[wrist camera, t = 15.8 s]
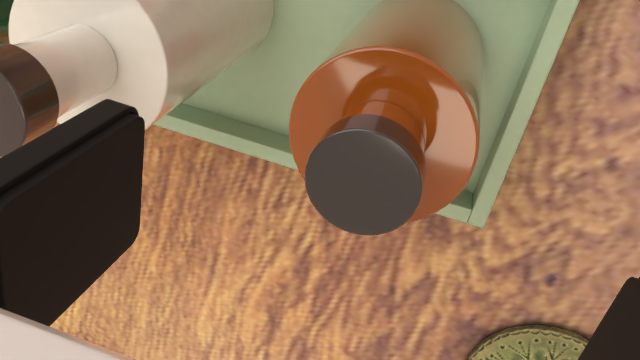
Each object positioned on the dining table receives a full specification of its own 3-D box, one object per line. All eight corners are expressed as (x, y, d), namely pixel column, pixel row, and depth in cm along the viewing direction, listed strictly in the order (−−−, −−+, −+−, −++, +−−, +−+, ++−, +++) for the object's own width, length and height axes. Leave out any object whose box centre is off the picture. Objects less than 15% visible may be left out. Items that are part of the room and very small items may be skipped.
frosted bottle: (283, -48, 23) (78, 29, 11) (263, 73, 25) (79, 233, 14) (165, -79, 23) (-140, -36, 12) (157, 42, 26) (-101, 171, 15)
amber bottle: (504, 10, 21) (512, 117, 12) (459, 135, 24) (436, 303, 15) (368, -26, 22) (275, 48, 13) (338, 99, 25) (243, 238, 15)
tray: (596, -68, 20) (606, -63, 18) (483, 204, 26) (483, 229, 24) (-23, -220, 23) (-67, -228, 21) (-2, 54, 29) (-35, 66, 27)
